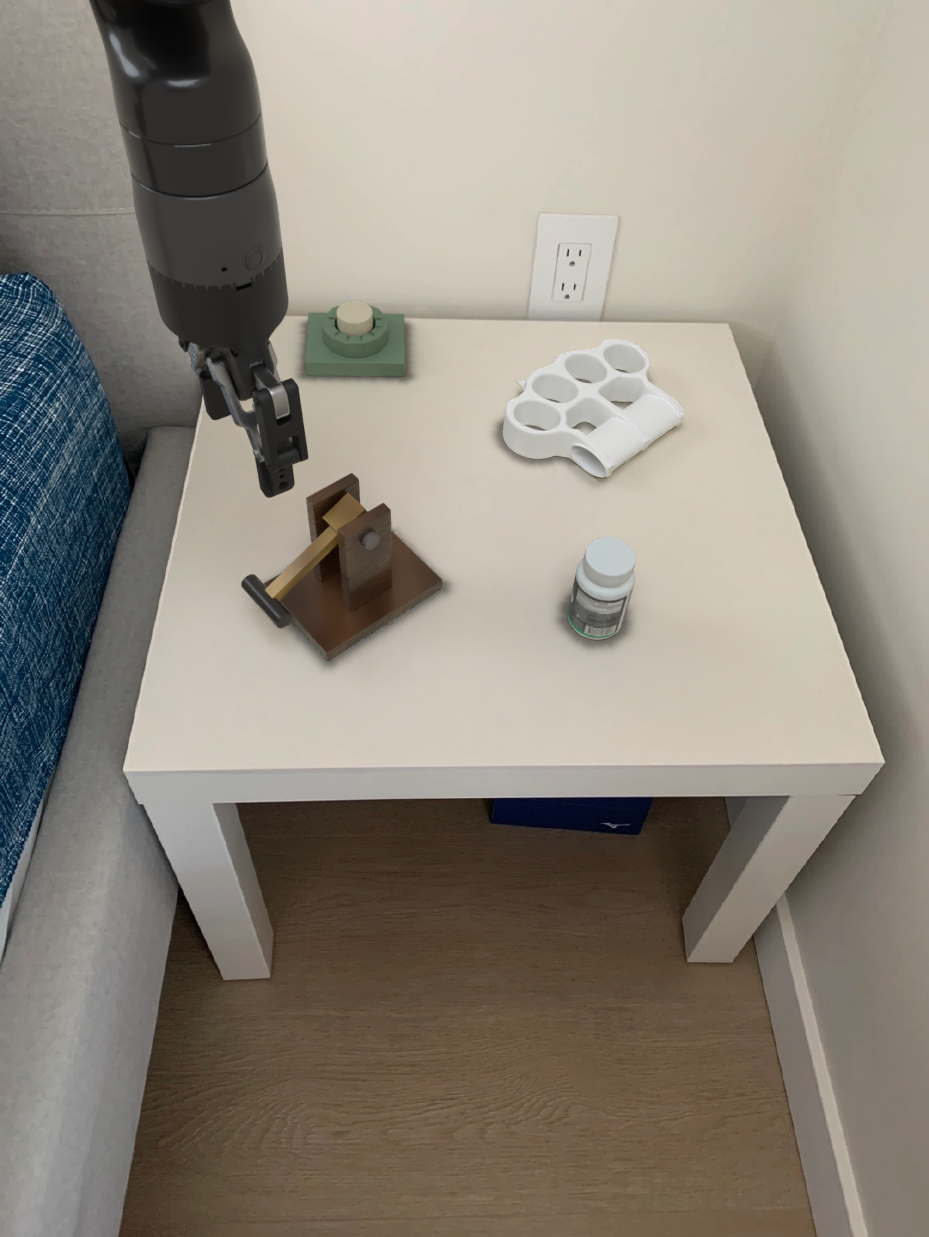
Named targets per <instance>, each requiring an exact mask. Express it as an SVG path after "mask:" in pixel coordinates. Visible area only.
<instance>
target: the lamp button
mask: <svg viewBox="0 0 929 1237" xmlns="http://www.w3.org/2000/svg"><path fill="white" fill-rule="evenodd" d="M369 305H370V304H368V303H366V302H363V301H359V300H349V301H346V302H343V303H341V304H340V305H338V306H339V307H338V309H337V312H336V313H337V327H338V330H339V331H340V332H341V333H343V334H345V335H348V336H362V335H365V334H368V333H370V332H371V330H372V328H373V311H372V309H371V307H370V306H371V305H370V306H369Z"/></svg>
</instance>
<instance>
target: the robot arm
mask: <svg viewBox="0 0 929 1237" xmlns="http://www.w3.org/2000/svg"><path fill="white" fill-rule="evenodd" d="M88 2H89V5H90V9H91V12H92V15H93V17H94V20H95V23H96V26H97V30H98V33H99V35H100V38H101V42H102V45H103V49H104V52H105V57H106V62H107V67H108V71H109V72H108V73H109V77H110V82H111V89H112V96H113V103H114V107H115V113H116V117H117V120H118V124H119V128H120V132H121V137H122V141H123V145H124V149H125V153H126V158H127V162H128V165H129V166H128V167H129V172H130V177H131V186H132V187H131V188H132V198H133V199H132V200H133V206H134V207H133V208H134V213H135V217H136V222H137V227H138V230H139V235H140V238H141V242H142V246H143V251H144V255H145V259H146V263H147V267H148V272H149V275H150V281H151V284H152V289H153V293H154V298H155V300H156V305H157V309H158V313H159V317H160V318H161V320H162V322H163V324H164V325H165V326H166V328H167V329H168V330H169V331H170V332H171V333H172V334H174V335H175V336H176V337H177V339H178V341H177V342H178V346H179V347H180V349H182V351H183V352H184V353H187V355H188V356H189V358H190V367H191V369H192V371H193V372H194V373H195V374H196V376H198V380H199V384H200V389H201V393H202V399H203V402H204V403H203V404H204V408H205V412H206V414H207V416H209V418H210V419H211V420H212V421H219V420H222V419H225V418H227V417H230V416H231V418H232V421H233V422H234V424H235V426H237V427H239V428H243V429H244V430H245V433H246V436H247V438H248V440H249V443H250V445H251V448H252V453H253V456H254V461H255V467H256V473H257V477H258V484H259V489H260V491H261V492H262V494H263V495H264V496H265V498H268V499H271V498H274V497H276V496H280V495H282V494H283V493H286V492H289V491H290V490H292V489H294V487H295V484H296V481H295V473H294V465H295V464H298V463H302V462H305V461H307V460H309V450H308V443H307V437H306V430H305V421H304V414H303V409H302V402H301V394H300V387H299V385H298V383H297V382H296V380H295V379H294V378H292V377H289V378H287V379H285V380H281V378H280V374H279V372H278V369H277V366H278V357H277V355H276V351H275V349H274V346H273V344H272V342H271V341H270V338H271V336H272V334H273V333H274V332H275V331H276V330H277V328H278V327H279V326H280V325H281V324H282V323H283V321H284V319H285V317H286V316H287V313H288V309H289V290H288V282H287V274H286V265H285V256H284V249H283V248H284V247H283V241H282V240H283V239H282V230H281V222H280V213H279V205H278V198H277V192H276V188H275V183H274V180H273V177H272V173H271V169H270V164H269V160H268V150H267V141H266V140H267V139H266V132H265V124H264V115H263V109H262V108H263V107H262V100H261V94H260V88H259V82H258V76H257V72H256V69H255V64H254V61H253V58H252V56H251V53H250V51H249V49H248V46H247V45H246V42H245V40H244V38H243V36H242V34H241V32H240V30H239V27H238V25H237V22H236V18H235V16H234V11H233V8H232V4H231V0H88ZM250 399H252V402H253V403H252V405H251V407H252V409H251V410H248V411H246V410H245V409H243V407H242V404H241V402H245V401H248V400H250Z"/></svg>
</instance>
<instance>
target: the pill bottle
mask: <svg viewBox="0 0 929 1237" xmlns="http://www.w3.org/2000/svg"><path fill="white" fill-rule="evenodd" d="M636 557H637V556H636V553H635V551H634V549H633V547H632V546H631V545H630V544H629V543H627V541H625V540H623V539H620V538H618V537H615V536H601V537H597V538H595V539H593V540H592V541H591V542H590V543H588V545H587V546H586V548H585V551H584V554H583V557H582V558H581V559H580V561H579V562H578V564H577V567H576V570H575V574H574V580H573V585H572V588H571V594H570V598H569V603H568V607H567V621H568V623H569V625H570V626H571V628H572V629H573V631H575V632H576V633H577V634H578V635H579V636H582V637H583V638H586V639H589V640H596V641H599V640H606V639H609V638H612V637H613V636H614V635H616V634H617V633H618V632H619V631H620V630H621V629H622V625H623V624H624V620H625V617H626V613H627V609H628V607H629V602H630V599H631V597H632V593H633V590H634V588H635V584H636V573H635V566H636V563H637V562H636V560H637V558H636Z"/></svg>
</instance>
